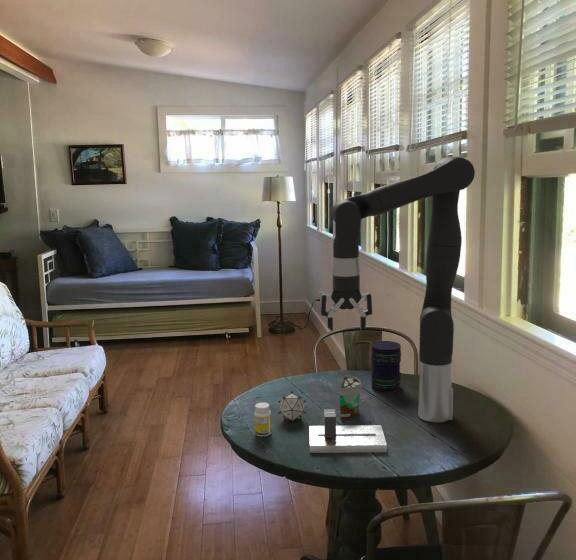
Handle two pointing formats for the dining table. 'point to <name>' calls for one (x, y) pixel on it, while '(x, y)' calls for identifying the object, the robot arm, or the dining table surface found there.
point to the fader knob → (329, 423)
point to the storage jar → (386, 366)
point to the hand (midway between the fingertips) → (346, 329)
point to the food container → (350, 397)
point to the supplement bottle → (262, 419)
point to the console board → (348, 439)
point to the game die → (292, 406)
